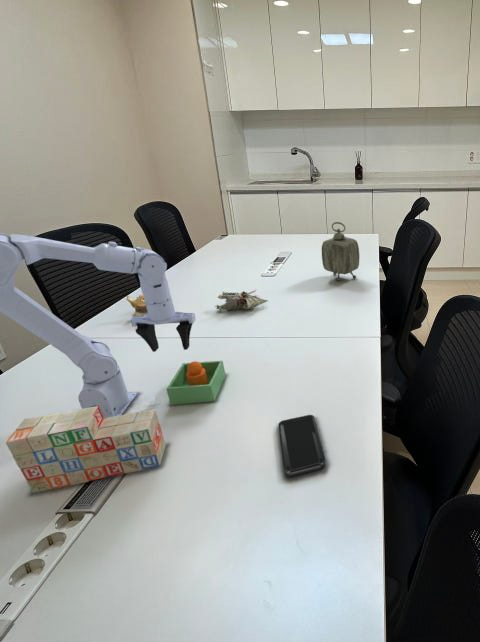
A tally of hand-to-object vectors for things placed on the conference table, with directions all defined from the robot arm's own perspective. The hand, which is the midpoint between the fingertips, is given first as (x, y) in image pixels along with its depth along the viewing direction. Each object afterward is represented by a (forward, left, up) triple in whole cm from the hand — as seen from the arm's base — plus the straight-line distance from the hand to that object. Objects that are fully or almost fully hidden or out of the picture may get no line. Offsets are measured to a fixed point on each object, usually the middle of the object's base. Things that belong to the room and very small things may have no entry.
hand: (171, 348), depth 98 cm
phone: (-28, -34, -9) cm, 45 cm away
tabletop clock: (+71, -45, -10) cm, 84 cm away
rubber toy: (-5, -7, -9) cm, 12 cm away
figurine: (+46, -8, -10) cm, 48 cm away
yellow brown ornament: (+46, +27, -10) cm, 54 cm away
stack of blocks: (-29, +4, -10) cm, 31 cm away
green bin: (-5, -7, -9) cm, 13 cm away
